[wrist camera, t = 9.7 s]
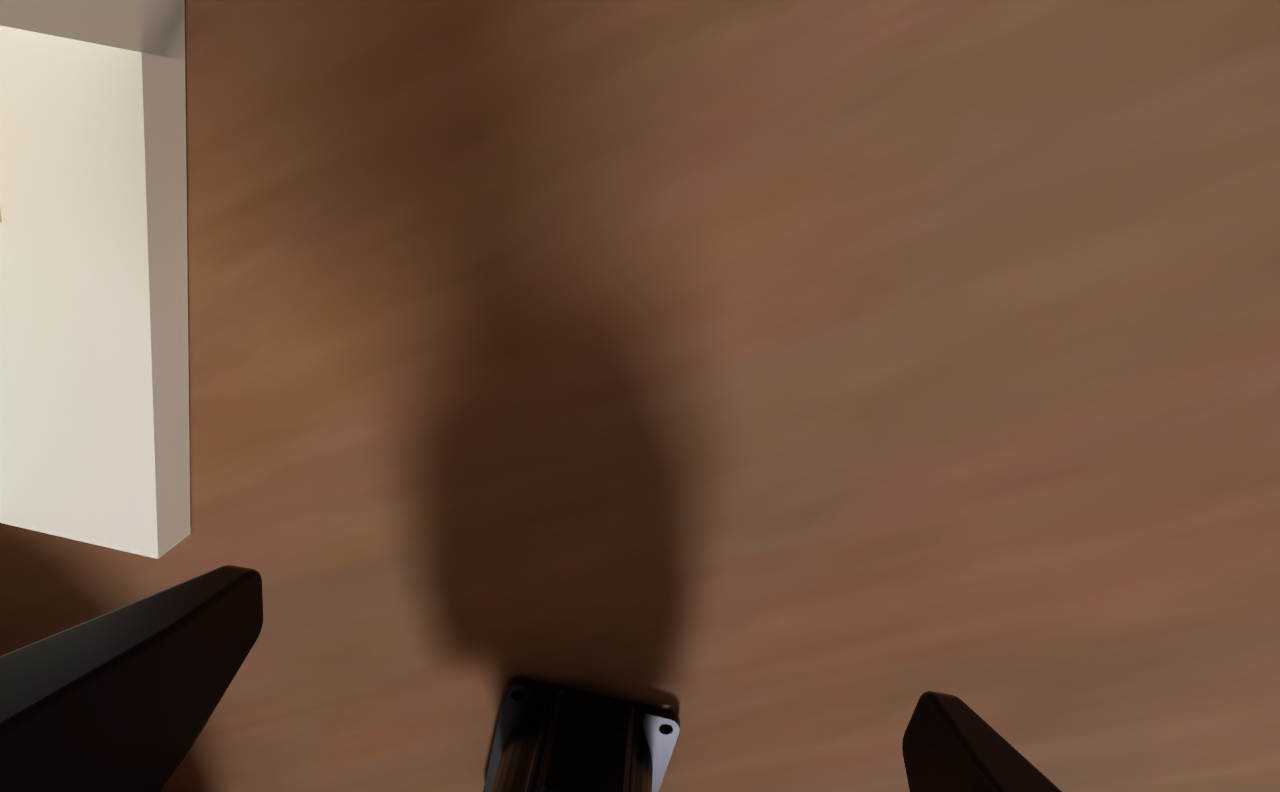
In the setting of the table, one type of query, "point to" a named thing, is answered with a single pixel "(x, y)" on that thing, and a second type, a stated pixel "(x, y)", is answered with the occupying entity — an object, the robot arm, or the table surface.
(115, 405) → the l-shaped pin bracket
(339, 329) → the table surface
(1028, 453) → the table surface
